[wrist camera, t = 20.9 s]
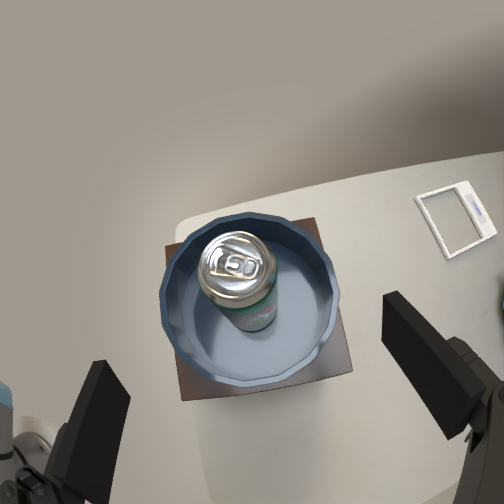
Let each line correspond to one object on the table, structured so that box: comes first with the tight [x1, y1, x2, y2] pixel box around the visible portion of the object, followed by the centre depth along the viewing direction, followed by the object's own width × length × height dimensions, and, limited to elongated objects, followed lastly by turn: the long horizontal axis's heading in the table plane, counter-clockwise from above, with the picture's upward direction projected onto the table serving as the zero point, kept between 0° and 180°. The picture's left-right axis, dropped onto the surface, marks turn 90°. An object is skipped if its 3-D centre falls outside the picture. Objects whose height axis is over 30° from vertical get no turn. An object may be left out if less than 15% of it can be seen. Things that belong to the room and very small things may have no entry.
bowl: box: [159, 212, 340, 388], centre depth 27 cm, size 15×15×5 cm
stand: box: [165, 217, 353, 401], centre depth 38 cm, size 17×17×20 cm
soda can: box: [197, 231, 278, 331], centre depth 23 cm, size 5×5×12 cm
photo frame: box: [414, 180, 497, 260], centre depth 51 cm, size 15×1×18 cm
